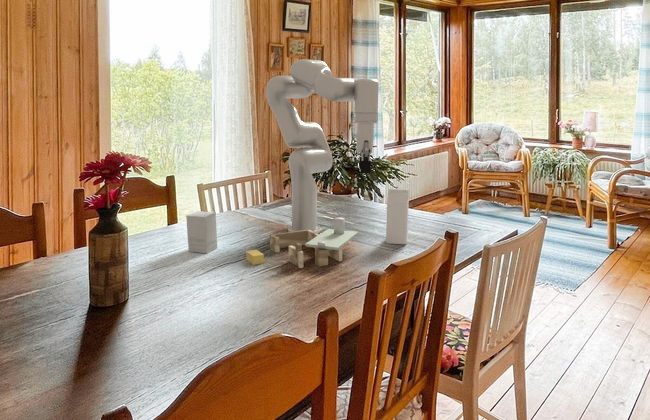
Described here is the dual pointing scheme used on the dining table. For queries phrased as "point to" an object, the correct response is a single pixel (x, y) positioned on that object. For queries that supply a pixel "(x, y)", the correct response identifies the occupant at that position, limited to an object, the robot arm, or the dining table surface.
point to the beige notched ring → (296, 252)
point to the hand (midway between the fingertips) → (364, 170)
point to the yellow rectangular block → (255, 257)
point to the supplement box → (201, 231)
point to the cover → (333, 236)
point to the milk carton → (397, 216)
